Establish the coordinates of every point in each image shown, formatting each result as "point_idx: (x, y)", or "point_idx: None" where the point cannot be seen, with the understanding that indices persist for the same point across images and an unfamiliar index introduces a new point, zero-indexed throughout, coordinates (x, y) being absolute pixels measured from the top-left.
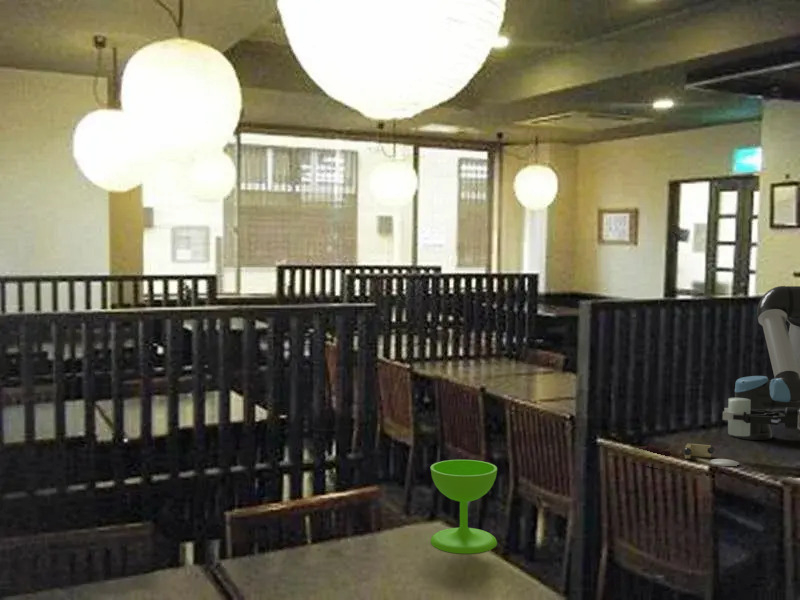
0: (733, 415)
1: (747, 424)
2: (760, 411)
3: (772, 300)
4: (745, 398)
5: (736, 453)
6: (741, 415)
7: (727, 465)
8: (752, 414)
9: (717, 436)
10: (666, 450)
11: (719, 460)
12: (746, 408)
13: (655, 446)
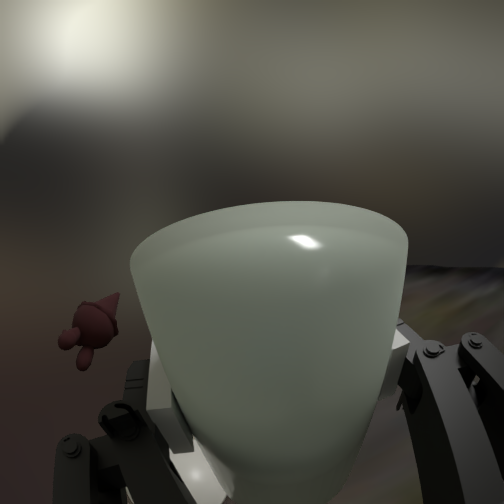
0: (133, 364)
1: (241, 487)
2: (470, 472)
3: None
4: (397, 234)
5: (388, 451)
6: (141, 409)
7: (126, 490)
8: (153, 496)
9: (498, 315)
10: (63, 334)
11: (191, 460)
12: (190, 390)
13: (81, 313)
